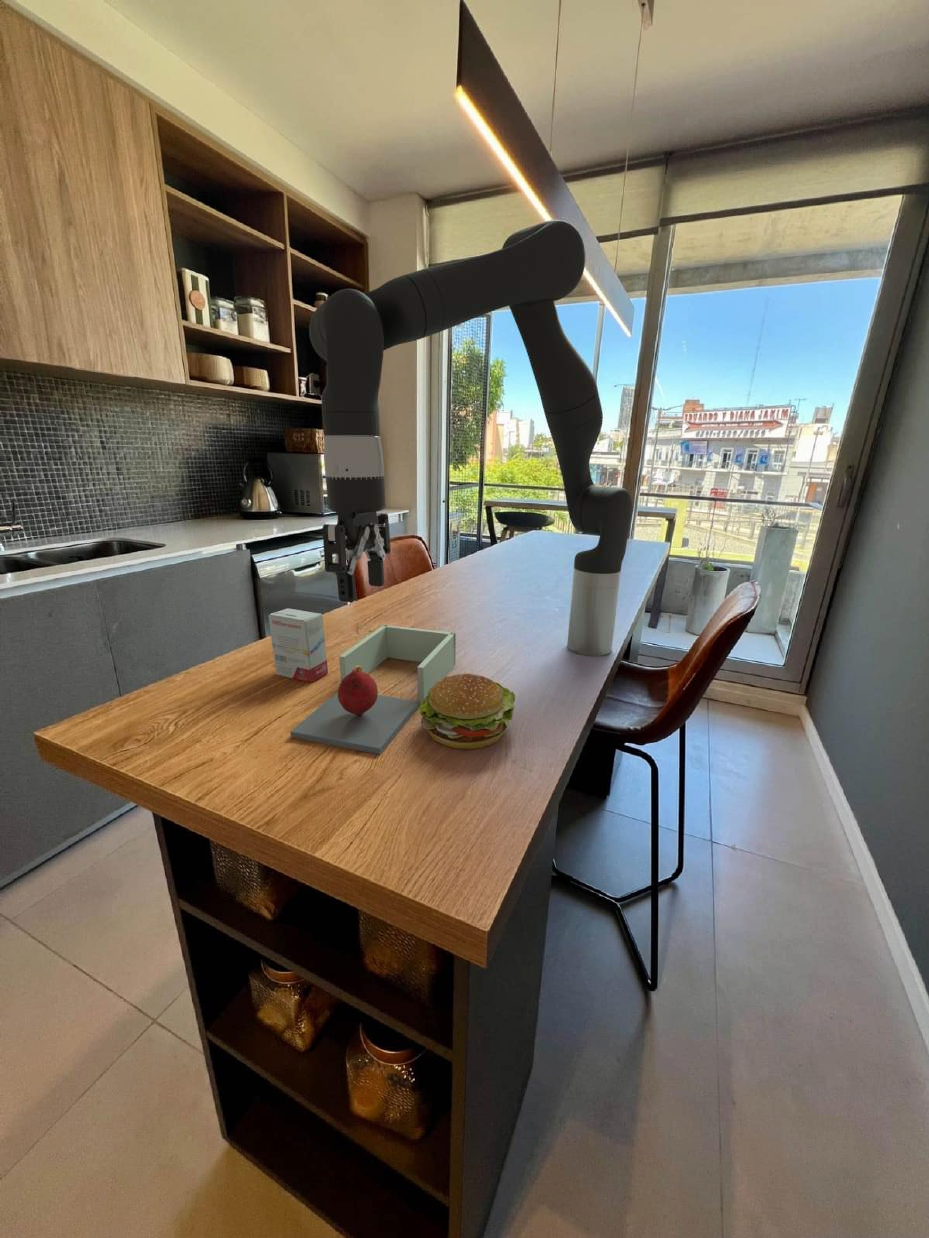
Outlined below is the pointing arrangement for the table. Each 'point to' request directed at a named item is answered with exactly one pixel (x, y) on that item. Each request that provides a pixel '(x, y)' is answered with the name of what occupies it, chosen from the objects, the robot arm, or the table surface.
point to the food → (467, 711)
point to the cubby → (404, 653)
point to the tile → (356, 724)
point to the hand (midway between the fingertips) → (363, 592)
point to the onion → (357, 692)
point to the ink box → (298, 644)
